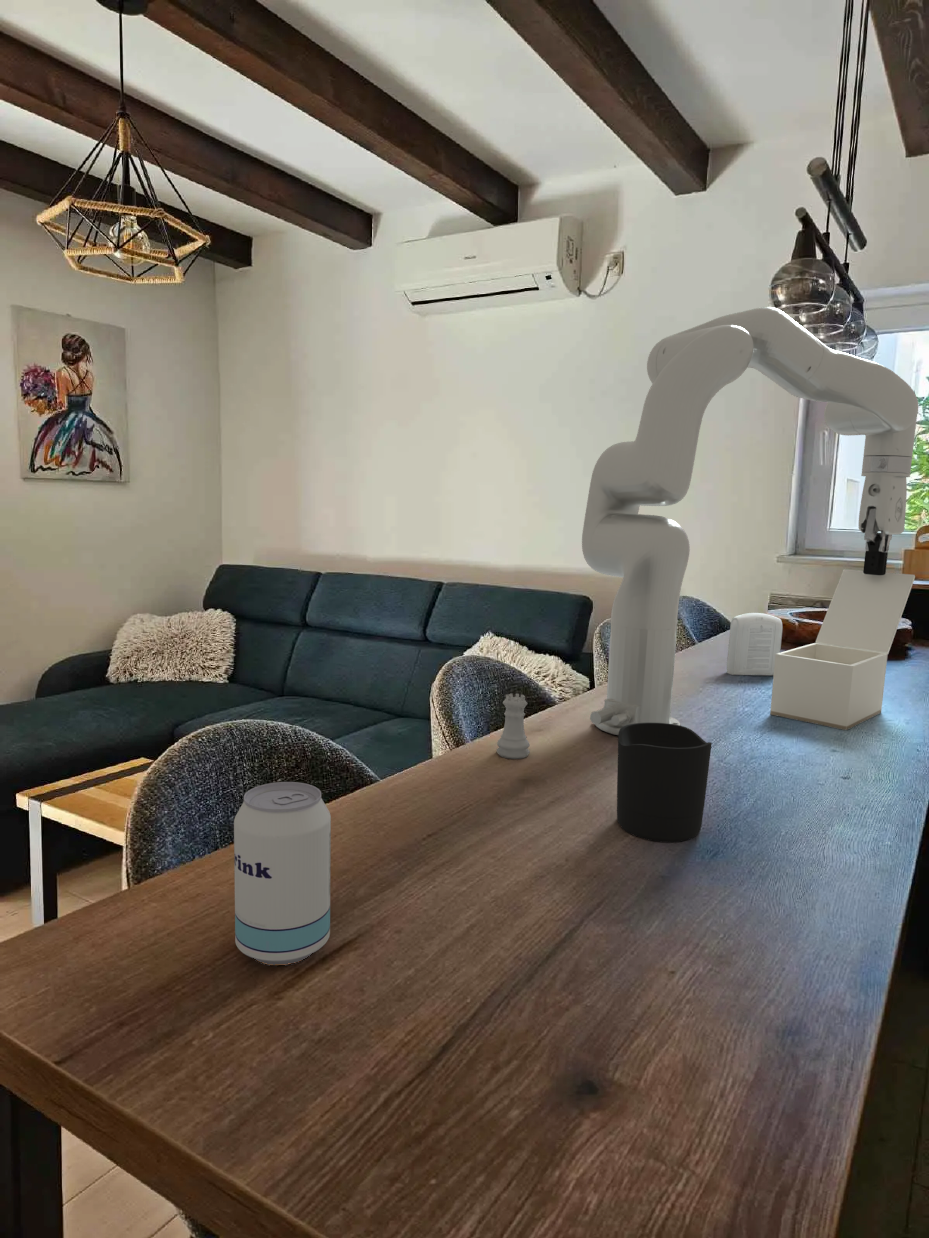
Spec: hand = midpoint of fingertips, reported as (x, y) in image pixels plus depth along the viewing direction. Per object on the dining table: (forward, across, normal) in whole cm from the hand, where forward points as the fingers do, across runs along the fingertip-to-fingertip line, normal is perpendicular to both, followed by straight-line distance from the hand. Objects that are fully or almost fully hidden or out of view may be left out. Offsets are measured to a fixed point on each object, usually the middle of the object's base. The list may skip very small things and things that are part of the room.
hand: (874, 574), depth 146 cm
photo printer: (+22, +4, +22) cm, 31 cm away
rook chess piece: (+23, -72, +20) cm, 79 cm away
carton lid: (+6, -3, 0) cm, 7 cm away
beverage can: (+24, -121, +1) cm, 124 cm away
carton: (+22, -16, 0) cm, 28 cm away
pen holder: (+23, -79, -6) cm, 83 cm away
